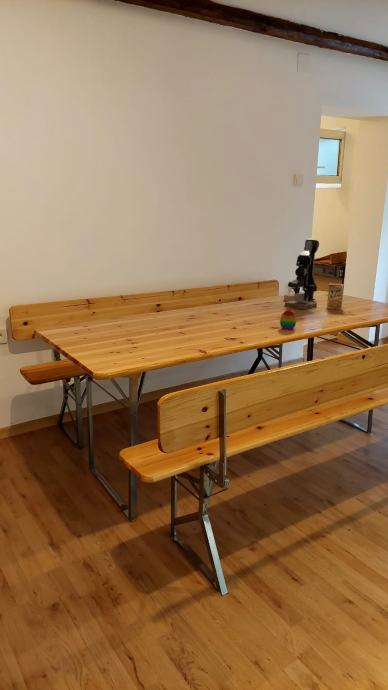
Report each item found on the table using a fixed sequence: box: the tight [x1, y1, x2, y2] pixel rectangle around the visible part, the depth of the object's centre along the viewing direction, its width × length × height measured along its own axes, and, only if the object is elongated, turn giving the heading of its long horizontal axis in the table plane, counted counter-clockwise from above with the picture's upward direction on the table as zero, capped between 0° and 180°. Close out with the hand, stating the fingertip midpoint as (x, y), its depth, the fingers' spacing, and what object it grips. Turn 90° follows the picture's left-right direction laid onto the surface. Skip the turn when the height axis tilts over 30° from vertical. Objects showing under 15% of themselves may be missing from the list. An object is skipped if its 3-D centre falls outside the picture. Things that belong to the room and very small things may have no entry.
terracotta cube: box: [283, 293, 295, 302], centre depth 338 cm, size 5×5×4 cm
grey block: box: [294, 291, 309, 303], centre depth 319 cm, size 6×6×5 cm
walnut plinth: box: [284, 301, 318, 311], centre depth 320 cm, size 14×14×2 cm
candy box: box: [326, 283, 345, 311], centre depth 315 cm, size 9×4×15 cm, turn 70°
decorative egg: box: [279, 309, 297, 331], centre depth 264 cm, size 8×8×10 cm
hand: (301, 299), depth 320 cm, fingers closed on grey block, 6 cm apart
